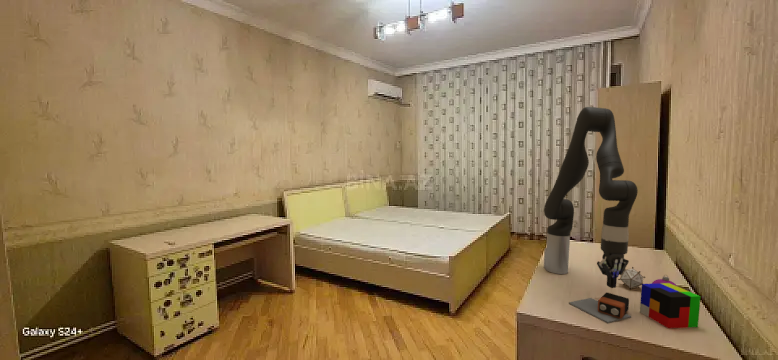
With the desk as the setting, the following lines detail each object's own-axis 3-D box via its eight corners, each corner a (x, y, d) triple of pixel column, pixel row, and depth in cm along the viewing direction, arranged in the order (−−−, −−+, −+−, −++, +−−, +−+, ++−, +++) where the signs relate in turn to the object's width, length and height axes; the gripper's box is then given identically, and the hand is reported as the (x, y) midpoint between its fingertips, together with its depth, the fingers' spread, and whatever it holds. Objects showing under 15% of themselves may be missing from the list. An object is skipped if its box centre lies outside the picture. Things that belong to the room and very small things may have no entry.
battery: (628, 310, 106) (620, 320, 100) (605, 303, 111) (596, 312, 105) (629, 298, 106) (621, 307, 99) (605, 291, 111) (597, 299, 104)
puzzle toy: (639, 312, 106) (641, 283, 105) (666, 311, 107) (669, 283, 106) (668, 328, 96) (670, 297, 96) (697, 327, 97) (700, 296, 96)
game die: (636, 298, 125) (655, 285, 118) (614, 289, 126) (631, 275, 120) (631, 280, 132) (648, 267, 125) (610, 272, 133) (626, 258, 127)
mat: (568, 303, 112) (568, 302, 112) (590, 299, 116) (590, 297, 116) (607, 323, 99) (607, 321, 99) (631, 317, 103) (631, 316, 102)
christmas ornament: (644, 298, 116) (646, 272, 116) (657, 294, 120) (659, 269, 119) (671, 308, 109) (673, 280, 108) (684, 304, 112) (686, 277, 111)
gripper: (616, 234, 113) (613, 280, 114) (590, 236, 108) (587, 285, 110) (639, 239, 106) (635, 288, 107) (612, 242, 101) (608, 294, 103)
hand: (611, 287), depth 108 cm, fingers closed
